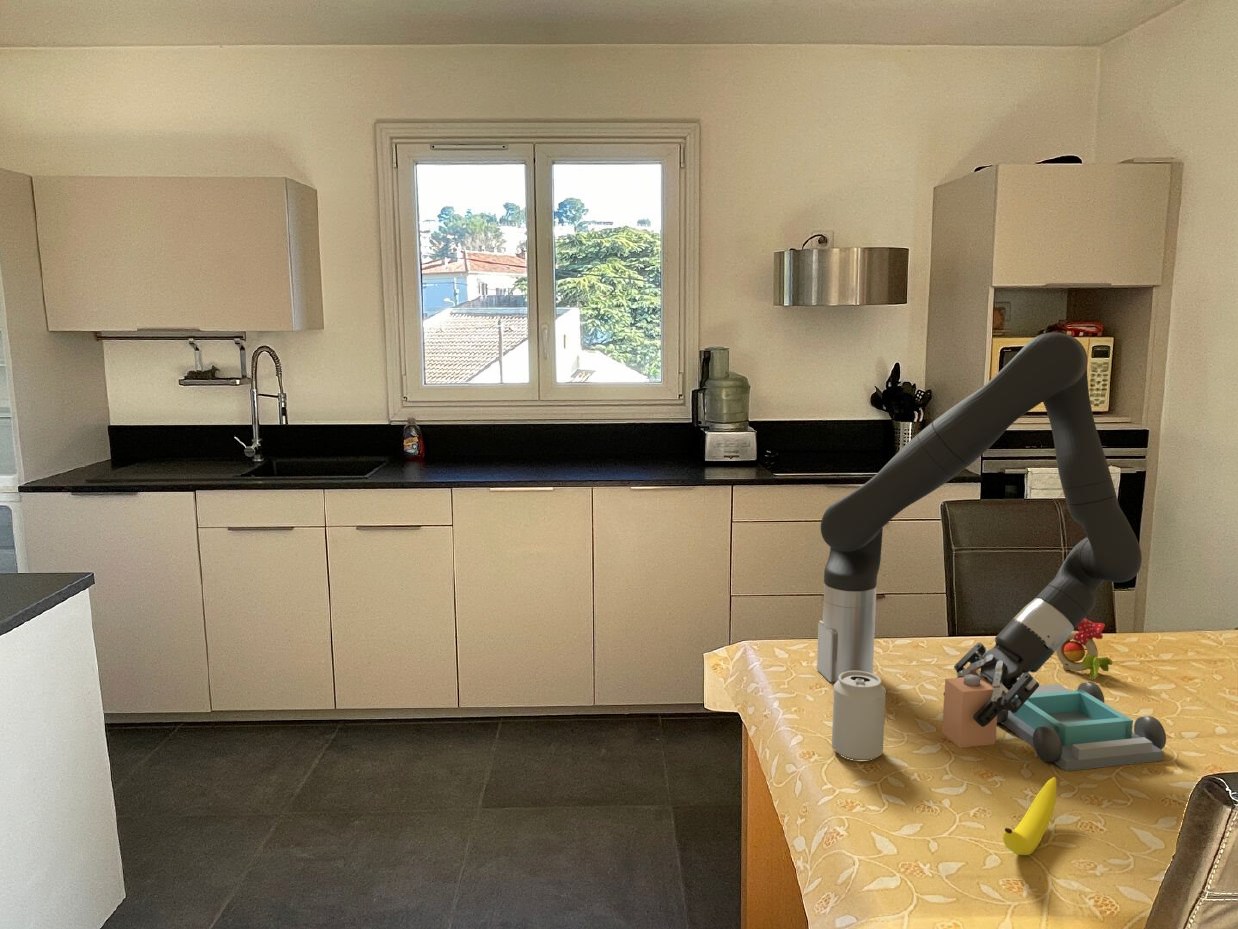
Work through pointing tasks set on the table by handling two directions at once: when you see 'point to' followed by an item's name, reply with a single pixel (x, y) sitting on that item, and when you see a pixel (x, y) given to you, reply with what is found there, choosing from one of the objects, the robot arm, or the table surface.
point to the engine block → (967, 711)
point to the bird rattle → (1076, 652)
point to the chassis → (1083, 729)
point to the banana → (1032, 822)
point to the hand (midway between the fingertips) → (962, 710)
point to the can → (858, 715)
